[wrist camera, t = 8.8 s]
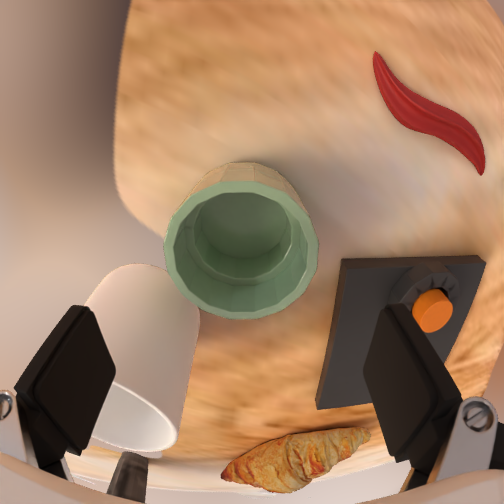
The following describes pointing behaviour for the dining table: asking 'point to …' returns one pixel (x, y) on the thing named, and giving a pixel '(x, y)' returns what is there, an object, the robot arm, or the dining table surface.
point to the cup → (144, 356)
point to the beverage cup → (130, 478)
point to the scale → (376, 298)
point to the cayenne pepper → (428, 115)
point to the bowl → (241, 243)
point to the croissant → (295, 459)
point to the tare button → (432, 310)
